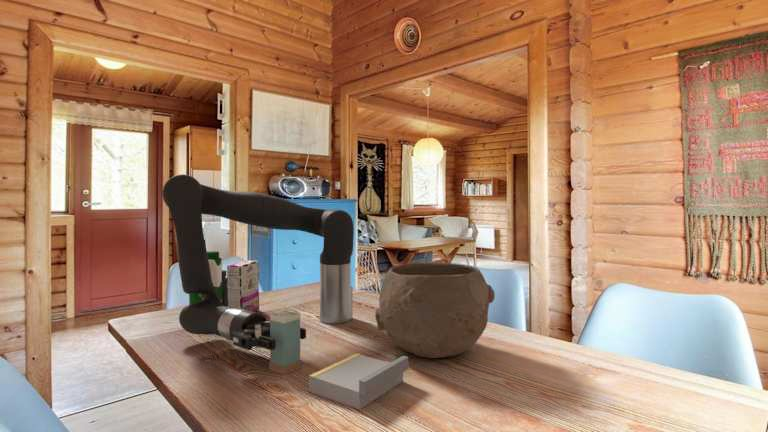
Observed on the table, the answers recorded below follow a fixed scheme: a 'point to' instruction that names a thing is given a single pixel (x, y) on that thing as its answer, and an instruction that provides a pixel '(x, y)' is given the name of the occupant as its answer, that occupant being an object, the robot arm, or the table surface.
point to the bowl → (434, 307)
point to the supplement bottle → (224, 289)
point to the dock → (357, 379)
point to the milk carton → (212, 276)
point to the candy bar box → (243, 285)
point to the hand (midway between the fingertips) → (290, 339)
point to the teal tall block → (285, 342)
